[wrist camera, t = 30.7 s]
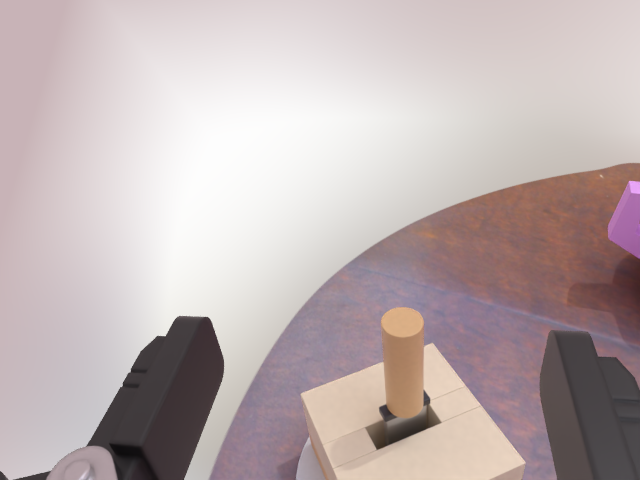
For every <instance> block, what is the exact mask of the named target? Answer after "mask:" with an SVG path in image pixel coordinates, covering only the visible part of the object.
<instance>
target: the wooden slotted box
mask: <svg viewBox="0 0 640 480" xmlns="http://www.w3.org/2000/svg"><path fill="white" fill-rule="evenodd" d="M424 390H425V392H426V393H427V394H428V396H429V397H430V404H428V405H426V430H424V431H421V432H419V433H417V434H414V435H412V436H410V437H407V438H405V439H403V440H400V441H398V442H395V443H393V444H391V445H388V446H386V447H385V433H384V419H383V418H382V416H381V414H380V412H379V407H380V406H383V405H385V404H386V394H385V378H384V363H383V362H381V363H379V364H376V365H374V366H371V367H368V368H366V369H363V370H361V371H358V372H355V373H353V374H350V375H348V376H345V377H342V378H340V379H337V380H335V381H332V382H329V383H327V384H324V385H321V386H319V387H316V388H314V389H311V390H308V391H306V392H303V393H301V399H302V403H303V408H304V413H305V417H306V422H307V427H308V432H309V436H310V441H311V445H312V447H313V450H314V452H315V455H316V457H317V459H318V462H319V464H320V467H321V469H322V472H323V474H324V476H325V479H326V480H522V478H523V473H524V468H525V461H524V460H523V459H522V457H521V456H520V455H519V454H518V452H517V451H516V450H515V448H514V447H513V446H512V445H511V443H510V442H509V441H508V439H507V438H506V437H505V436H504V434H503V433H502V432H501V430H500V429H499V428H498V427H497V425H496V424H495V423H494V421H493V420H492V419H491V418H490V416H489V415H488V414H487V412H486V411H485V410H484V409H483V407H482V406H481V405H480V403H479V402H478V401H477V400H476V398H475V397H474V396H473V394H472V393H471V392H470V391H469V389H468V388H467V387H466V386H465V384H464V383H463V382H462V380H461V379H460V378H459V376H458V375H457V374H456V373H455V371H454V370H453V369H452V367H451V366H450V365H449V364H448V362H447V361H446V360H445V358H444V357H443V356H442V355H441V353H440V352H439V351H438V349H437V348H436V347H435V346H434V344H433V343H431V344H428V345H426V346H424Z"/></svg>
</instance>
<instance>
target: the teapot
mask: <svg viewBox="0 0 640 480" xmlns="http://www.w3.org/2000/svg"><path fill="white" fill-rule="evenodd" d="M639 222H640V182H634V181H629V183H628V185H627V187H626V189H625V191H624V193H623V195H622V197H621V199H620V201H619V204H618V206H617V208H616V210H615V212H614V214H613V216H612V218H611V220H610V222H609V225H608V238H609V239H610V240H611V241H613V242H614V243H616V244H617V245H619V246H620V247H622V248H623V249H625V250H626V251H628V252H630V253H631V254H633V255H634V256H636V257H637V258H639V259H640V224H639Z"/></svg>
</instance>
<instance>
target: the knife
mask: <svg viewBox="0 0 640 480" xmlns="http://www.w3.org/2000/svg"><path fill="white" fill-rule="evenodd" d="M381 331H382V347H383V363H384V378H385V394H386V404H385V405H383V406H380V407H379V412H380V414H381V416H382V418H383V419H384V433H385V447H386V446H388V445H391V444H393V443H395V442H398V441H400V440H403V439H405V438H407V437H410V436H412V435H414V434H417V433H419V432H421V431H424V430H426V405H428V404H430V397H429V396H428V394H427V393H426V392H425V390H424V321H423V318H422V316H421V315H420V314H419V313H418V312H417V311H415V310H413V309H411V308H406V307H398V308H394V309H391V310H389V311H387V312H386V313H385V314H384V315H383V317H382V319H381Z"/></svg>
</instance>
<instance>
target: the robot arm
mask: <svg viewBox="0 0 640 480" xmlns="http://www.w3.org/2000/svg"><path fill="white" fill-rule="evenodd" d="M223 373H224V359H223V355H222V352H221V349H220V346H219V343H218V340H217V337H216V334H215V331H214V328H213V325H212V322H211V320H210V319H209V318H208V317H190V316H179V317H177V318H176V319H175V320H174V322H173V324H172V326H171V327H170V329H169V331H168V333H167V335H166V336H157V337H156V338H155V339H154V340H153V341H152V342H151V343H150V344H148V345H147V346H146V347H145V348H144V349H143V350H142V351H141V352H140V354H139V356H138V358H137V359H136V361H135V363H134V365H133V366H132V368H131V372H130V373H128V375H127V377H126V378H125V380H124V382H123V386H122V387H120V389H119V391H118V393H117V394H116V396H115V398H114V400H113V402H112V403H111V405H110V407H109V408H108V410H107V412H106V414H105V415H104V417H103V419H102V421H101V422H100V424H99V426H98V428H97V429H96V431H95V433H94V435H93V436H92V438H91V440H90V441H89V443H88V445H87V446H86V447H83V448H80V449H77V450H75V451H73V452H71V453H70V454H68V455H66V456H65V457H64V458H63V459H61V460H60V461H59V462H58V463H57V464H56V465H55V466H54V468H53V469H52V470H51V471H49V472H45V473H40V474H36V475H32V476H28V477H23V478H19V479H15V480H184V478H185V475H186V473H187V470H188V467H189V465H190V462H191V460H192V457H193V454H194V452H195V449H196V447H197V444H198V442H199V439H200V436H201V434H202V431H203V428H204V426H205V423H206V421H207V418H208V416H209V413H210V410H211V408H212V405H213V402H214V400H215V397H216V395H217V392H218V390H219V387H220V384H221V382H222V378H223ZM540 397H541V404H542V408H543V413H544V418H545V423H546V427H547V432H548V437H549V442H550V446H551V451H552V456H553V461H554V465H555V470H556V475H557V480H640V390H639V387H638V385H637V382H636V380H635V378H634V376H633V375H632V374H631V373H630V372H629V371H628V370H627V369H626V368H625V367H624V366H623V365H622V363H621V362H620V361H619V360H618V359H617V358H616V357H598V355H597V353H596V350H595V347H594V344H593V341H592V338H591V336H590V334H589V333H588V332H583V331H555V330H551V331H550V332H549V335H548V340H547V345H546V349H545V354H544V359H543V364H542V369H541V374H540ZM0 480H8V479H7V478H6V476H5V475H4V474H3V473H2V472H1V471H0Z"/></svg>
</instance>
